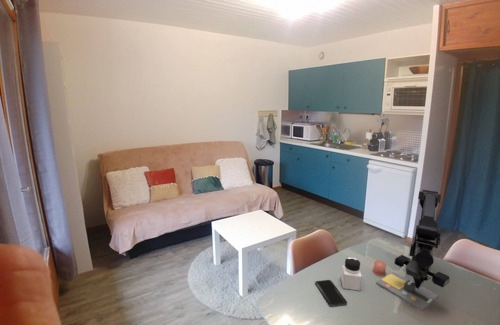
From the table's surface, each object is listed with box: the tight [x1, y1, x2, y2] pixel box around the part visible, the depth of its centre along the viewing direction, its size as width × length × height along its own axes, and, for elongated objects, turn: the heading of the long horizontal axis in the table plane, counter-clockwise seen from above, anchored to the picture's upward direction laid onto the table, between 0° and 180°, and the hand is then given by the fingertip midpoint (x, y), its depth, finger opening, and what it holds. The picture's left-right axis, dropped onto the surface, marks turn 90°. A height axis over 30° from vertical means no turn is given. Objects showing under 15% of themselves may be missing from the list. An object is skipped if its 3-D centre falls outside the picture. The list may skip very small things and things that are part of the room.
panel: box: [375, 271, 439, 312], centre depth 115 cm, size 14×19×2 cm
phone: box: [314, 279, 348, 308], centre depth 113 cm, size 8×1×15 cm
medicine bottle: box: [340, 257, 363, 292], centre depth 117 cm, size 7×7×12 cm
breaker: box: [404, 279, 416, 293], centre depth 113 cm, size 4×3×4 cm
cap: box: [372, 259, 387, 277], centre depth 127 cm, size 5×5×5 cm
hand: (417, 288), depth 111 cm, fingers closed
